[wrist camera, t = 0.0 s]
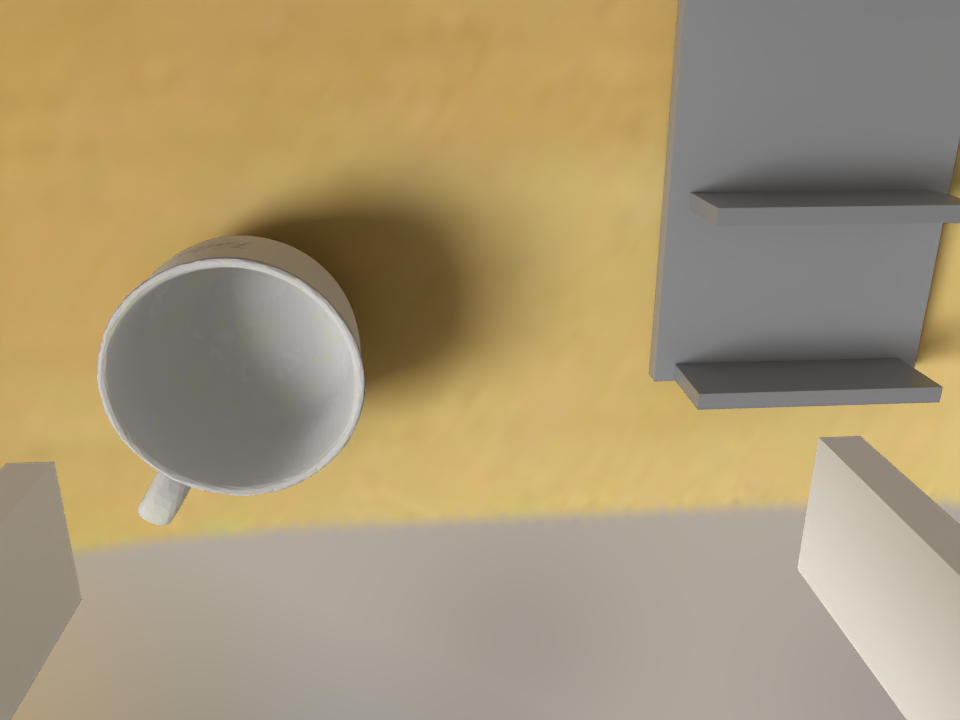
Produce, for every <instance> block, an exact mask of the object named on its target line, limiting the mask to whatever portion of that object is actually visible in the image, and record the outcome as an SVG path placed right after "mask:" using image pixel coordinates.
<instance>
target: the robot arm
mask: <svg viewBox="0 0 960 720" xmlns="http://www.w3.org/2000/svg"><path fill="white" fill-rule="evenodd" d="M798 570H799V572H800V573H801V575H802V576H803V577H804V579H805V580H806V581H807V583H808V584H809V585H810V587H811V588H812V590H813V591H814V592H815V594H816V595H817V596H818V598H819V599H820V601H821V602H822V603H823V605H824V606H825V608H826V609H827V610H828V612H829V613H830V615H831V616H832V617H833V619H834V620H835V621H836V623H837V624H838V626H839V627H840V628H841V630H842V631H843V632H844V634H845V635H846V636H847V638H848V639H849V641H850V642H851V643H852V645H853V646H854V648H855V649H856V650H857V652H858V653H859V654H860V656H861V657H862V659H863V660H864V661H865V663H866V664H867V665H868V667H869V668H870V670H871V671H872V672H873V674H874V675H875V676H876V678H877V679H878V681H879V682H880V683H881V685H882V686H883V687H884V689H885V690H886V692H887V693H888V694H889V696H890V697H891V699H892V700H893V701H894V703H895V704H896V705H897V707H898V708H899V709H900V711H901V712H902V714H903V715H904V716H905V718H906V719H907V720H960V524H959V523H958V522H957V521H955V520H954V519H953V518H952V517H951V516H950V515H949V514H948V513H946V512H945V511H944V510H943V509H942V508H941V507H940V506H939V505H937V504H936V503H935V502H934V501H933V500H932V499H931V498H930V497H928V496H927V495H926V494H925V493H924V492H923V491H922V490H921V489H919V488H918V487H917V486H916V485H915V484H914V483H913V482H911V481H910V480H909V479H908V478H907V477H906V476H905V475H904V474H902V473H901V472H900V471H899V470H898V469H897V468H896V467H895V466H893V465H892V464H891V463H890V462H889V461H888V460H887V459H886V458H884V457H883V456H882V455H881V454H880V453H879V452H878V451H877V450H875V449H874V448H873V447H872V446H871V445H870V444H869V443H868V442H866V441H865V440H864V439H863V438H862V437H861V436H848V437H819V439H818V445H817V451H816V457H815V463H814V470H813V476H812V482H811V488H810V494H809V500H808V507H807V513H806V519H805V525H804V531H803V538H802V544H801V550H800V556H799V562H798ZM81 600H82V599H81V594H80V589H79V584H78V579H77V574H76V569H75V564H74V559H73V554H72V548H71V543H70V538H69V533H68V528H67V523H66V518H65V513H64V508H63V503H62V498H61V493H60V488H59V483H58V478H57V473H56V468H55V463H54V462H29V463H6V464H5V465H4V466H3V467H2V468H1V469H0V720H11V719H12V717H13V716H14V714H15V712H16V711H17V709H18V707H19V706H20V704H21V702H22V700H23V699H24V697H25V695H26V693H27V692H28V690H29V688H30V687H31V685H32V683H33V682H34V680H35V678H36V676H37V675H38V673H39V672H40V670H41V668H42V666H43V665H44V663H45V661H46V660H47V658H48V656H49V655H50V653H51V651H52V649H53V648H54V646H55V644H56V642H57V641H58V639H59V638H60V636H61V634H62V632H63V631H64V629H65V627H66V626H67V624H68V622H69V620H70V619H71V617H72V615H73V614H74V612H75V610H76V609H77V607H78V605H79V604H80V602H81Z"/></svg>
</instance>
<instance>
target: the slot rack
mask: <svg viewBox="0 0 960 720" xmlns="http://www.w3.org/2000/svg"><path fill="white" fill-rule="evenodd" d="M959 140H960V0H679V1H678V14H677V27H676V40H675V52H674V65H673V78H672V91H671V103H670V116H669V129H668V142H667V154H666V167H665V180H664V193H663V205H662V218H661V231H660V244H659V256H658V269H657V282H656V295H655V307H654V320H653V333H652V346H651V358H650V371H649V374H650V376H651V377H652V379H653V380H654V381H676V382H677V383H678V385H679V386H680V387H681V389H682V390H683V391H684V392H685V394H686V395H687V396H688V398H689V399H690V400H691V402H692V403H693V404H694V405H695V407H696V408H697V409H698V410H702V409H734V408H767V407H800V406H833V405H866V404H899V403H932V402H940V397H941V393H942V388H943V387H942V386H940V385H939V384H937V383H936V382H934V381H933V380H931V379H930V378H928V377H927V376H925V375H924V374H922V373H921V372H919V371H917V370H916V369H914V367H915V362H916V357H917V352H918V347H919V342H920V337H921V332H922V327H923V322H924V316H925V311H926V306H927V301H928V296H929V291H930V286H931V281H932V276H933V271H934V266H935V261H936V256H937V251H938V246H939V241H940V236H941V231H942V226H943V223H960V198H957V197H953V196H950V195H949V191H950V186H951V180H952V175H953V170H954V165H955V160H956V155H957V150H958V145H959Z"/></svg>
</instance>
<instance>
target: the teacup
mask: <svg viewBox="0 0 960 720" xmlns="http://www.w3.org/2000/svg"><path fill="white" fill-rule="evenodd" d="M97 375H98V387H99V391H100V395H101V398H102V402H103V406H104V409H105V411H106V414H107V416H108V418H109V420H110V422H111V424H112V426H113V427H114V428H115V430H116V432H117V433H118V435H119V436H120V438H121V439H122V440H123V441H124V442H125V443H126V445H127V446H128V447H129V448H130V449H131V450H133V451H134V452H135V453H136V454H137V455H138V456H139V457H140V458H141V459H143V460H144V461H145V462H146V463H147V464H149V465H150V466H152V467H153V468H155V469H156V470H157V471H158V473H157V474H156V476H155V478H154V480H153V481H152V483H151V485H150V487H149V488H148V490H147V492H146V494H145V496H144V497H143V499H142V501H141V503H140V505H139V507H138V512H139V515H140V516H141V517H142V518H143V519H144V520H146V521H148V522H151V523H153V524H156V525H167V524H169V523H170V522H171V521H172V519H173V518H174V516H175V514H176V513H177V511H178V510H179V508H180V506H181V505H182V503H183V501H184V499H185V497H186V496H187V494H188V492H189V490H190V488H191V487H192V488H195V489H200V490H204V491H208V492H214V493H222V494H227V495H237V496H242V495H258V494H264V493H269V492H275V491H278V490H282V489H285V488H287V487H290V486H293V485H295V484H297V483H300V482H302V481H304V480H306V479H307V478H309V477H311V476H312V475H314V474H315V473H316V472H318V471H319V470H320V469H322V468H323V467H324V466H326V465H327V464H328V463H330V462H331V461H332V460H333V459H334V458H335V457H336V456H337V455H338V453H339V452H340V451H341V450H342V449H343V448H344V446H345V445H346V444H347V442H348V441H349V439H350V437H351V435H352V433H353V432H354V430H355V427H356V425H357V422H358V419H359V416H360V413H361V410H362V406H363V402H364V394H365V372H364V367H363V361H362V356H361V347H360V338H359V332H358V327H357V323H356V319H355V316H354V313H353V310H352V307H351V305H350V303H349V301H348V299H347V297H346V295H345V293H344V292H343V290H342V289H341V287H340V286H339V284H338V283H337V282H336V280H335V279H334V278H333V277H332V276H331V275H330V274H329V273H328V271H327V270H326V269H325V268H324V267H323V266H321V265H320V264H319V263H318V262H317V261H315V260H314V259H313V258H311V257H310V256H308V255H307V254H305V253H303V252H302V251H300V250H298V249H296V248H294V247H292V246H290V245H287V244H285V243H282V242H279V241H275V240H272V239H268V238H263V237H256V236H226V237H219V238H215V239H211V240H207V241H204V242H201V243H198V244H196V245H194V246H191V247H189V248H187V249H185V250H183V251H182V252H180V253H178V254H177V255H175V256H174V257H172V258H171V259H170V260H168V261H167V262H165V263H164V264H163V265H162V266H161V267H159V268H158V269H157V270H156V271H155V272H154V273H153V274H152V275H151V276H150V277H149V278H148V279H147V280H146V281H144V282H143V283H142V284H140V285H139V286H138V287H137V288H136V289H134V290H133V291H132V292H131V293H130V294H129V295H128V296H127V297H126V298H125V299H124V300H123V302H122V303H121V304H120V306H119V307H118V308H117V309H116V311H115V313H114V314H113V316H112V318H111V319H110V321H109V322H108V325H107V328H106V330H105V332H104V334H103V340H102V343H101V346H100V350H99V355H98V364H97Z"/></svg>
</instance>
